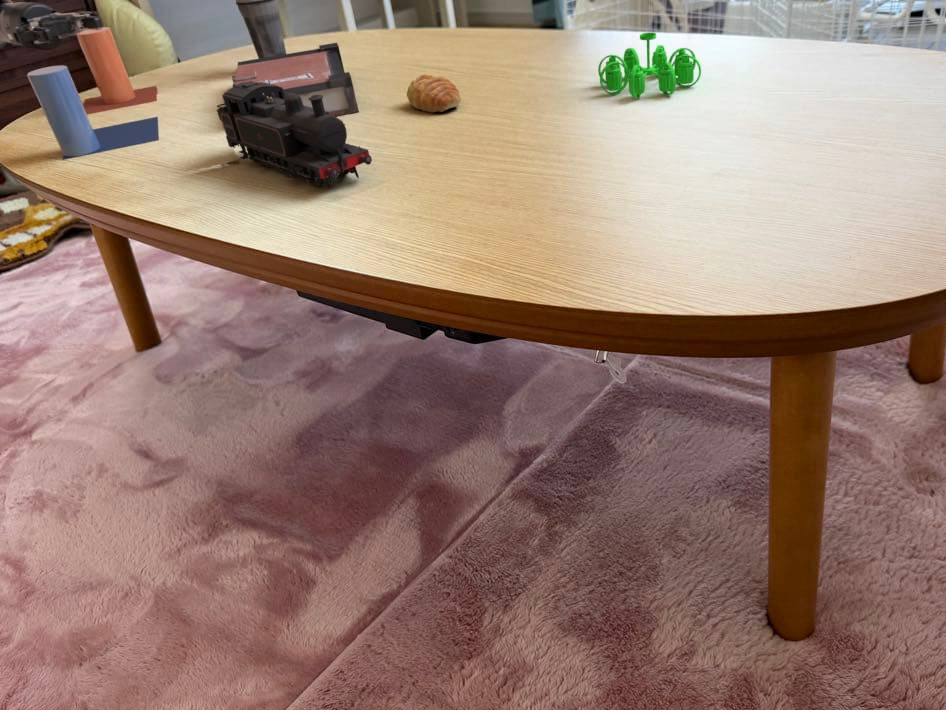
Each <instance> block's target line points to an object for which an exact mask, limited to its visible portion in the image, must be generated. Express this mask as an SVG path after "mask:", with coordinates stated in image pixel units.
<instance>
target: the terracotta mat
mask: <svg viewBox="0 0 946 710" xmlns="http://www.w3.org/2000/svg"><path fill="white" fill-rule="evenodd" d="M133 90H134V93H135V95H136V97H135V98H134V99H132V100H130V101H126V102H123V103H117V104H105V103H104V102H103V99H102V97H101V95H100V96H94V97H89V98H84V100H83V101H84V102H83V106H84V108H85V111H86V113H87V115H91V114H92V115H93V114H97V113H102V112H108V111H113V110H118V109H123V108H128V107H133V106H138V105H143V104H149V103H155V102H157V101H158V96H157V95H158V87H157V85H152V86H147V87H142V88H136V89H133Z"/></svg>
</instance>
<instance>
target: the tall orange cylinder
mask: <svg viewBox="0 0 946 710" xmlns="http://www.w3.org/2000/svg"><path fill="white" fill-rule="evenodd" d="M75 36H76V37H77V40H78V43H79V46H80V47H81V50H82V53H83V54H84V58H85V60H86V62H87V65H88V67H89V70H90V72H91V75H92V77H93V79H94V82H95V84H96V87H97V89H98V92H99V94H100V96H101V97H102V99H103V102H104V103H105V104H117V103H123V102H126V101H130V100H132V99H134V98H135V97H136V95H135V93H134V90H135V89H134V88H133V85H132V83H131V80H130V78H129V74H128V72H127V68H126V67H125V64H124V61H123V59H122V56H121V53H120V51H119V48H118V46H117V43H116V41H115V37H114V35H113V32H112V30H111V28H110V27H107V26H103V27H100V28H93V29H88V30H84V31H80V32H78V33H76V35H75Z"/></svg>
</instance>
